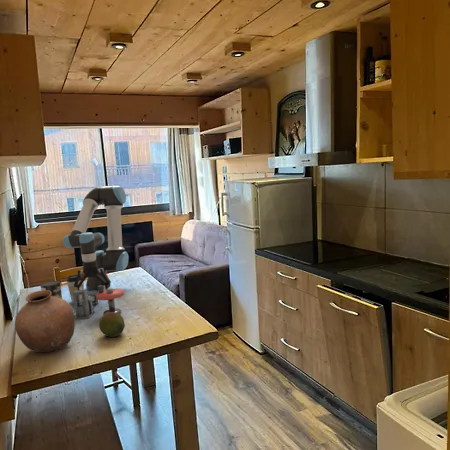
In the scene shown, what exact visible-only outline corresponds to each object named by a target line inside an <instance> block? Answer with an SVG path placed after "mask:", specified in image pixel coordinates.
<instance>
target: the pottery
mask: <svg viewBox="0 0 450 450" xmlns="http://www.w3.org/2000/svg"><path fill="white" fill-rule="evenodd" d="M25 301H26V303H25V304H24V305H23V306H22V307H21V308H20V309H19V310H18V312H17V314H16V317H15V320H14V326H15V332H16V334H17V337H18V339H19V340H20V342H21V343H22V344H23V345H24V346H25V347H26V348H27V349H29V350H31V351H33V352H36V353H49V352H53V351H56V350H59V349H62V348H63V347H65V346H67V345H68V344H69V343H70V341H71V339H72V338H73V335H74V333H75V329H76V328H75V327H76V326H75V325H76V319H75V318H74V315H75V311H74V309H73V307H72V305H71V304H70V303H69V302H67V301H66V300H65V299H63V298H62V299H61V298H58V297H53V296H51V291H49V290H42V291H41V290H37V291H33V292H30V293H28V295H26V297H25Z"/></svg>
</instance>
